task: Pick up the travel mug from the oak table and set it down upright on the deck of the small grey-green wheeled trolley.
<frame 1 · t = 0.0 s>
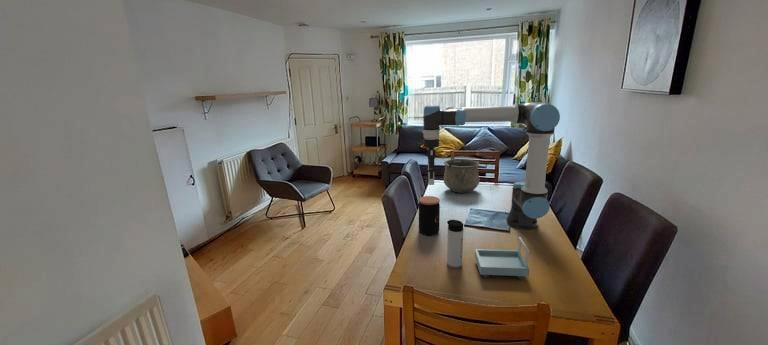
hand: (430, 180, 158), 28 cm above the table, fingers open, 13 cm apart
pot: (461, 191, 227), on the table
travel mug: (454, 265, 135), on the table
coffee jar: (428, 232, 165), on the table
trolley: (499, 270, 129), on the table
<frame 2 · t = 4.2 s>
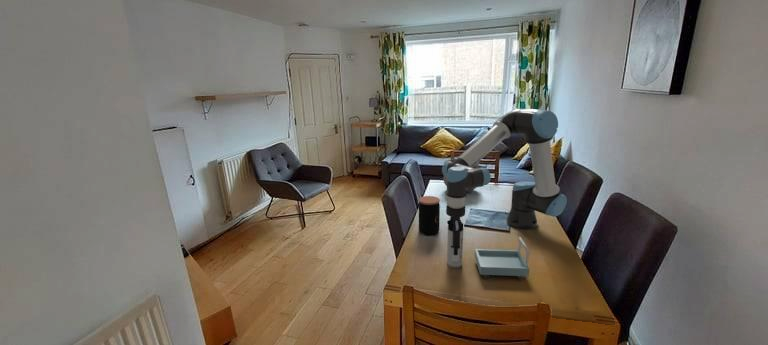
hand: (454, 256, 133), 4 cm above the table, fingers closed on travel mug, 6 cm apart
travel mug: (454, 265, 134), on the table, touching gripper
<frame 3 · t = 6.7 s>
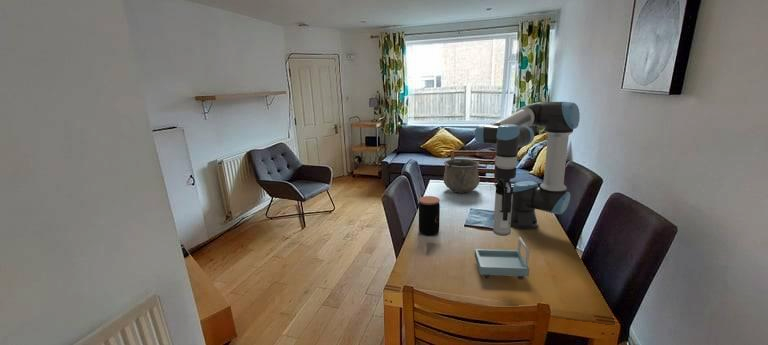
hand: (501, 223, 124), 21 cm above the table, fingers closed on travel mug, 6 cm apart
travel mug: (500, 233, 125), point 17 cm above the table, touching gripper
everything else where it was.
when the fingers open (9 cm above the table, at t = 9.2 s): travel mug drops 2 cm, resting on trolley.
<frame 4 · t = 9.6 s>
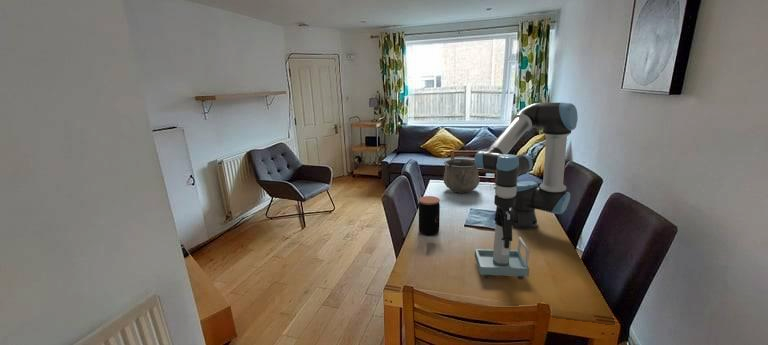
hand: (501, 246, 127), 11 cm above the table, fingers open, 11 cm apart
travel mug: (500, 262, 128), point 4 cm above the table, touching trolley
everything else where it was.
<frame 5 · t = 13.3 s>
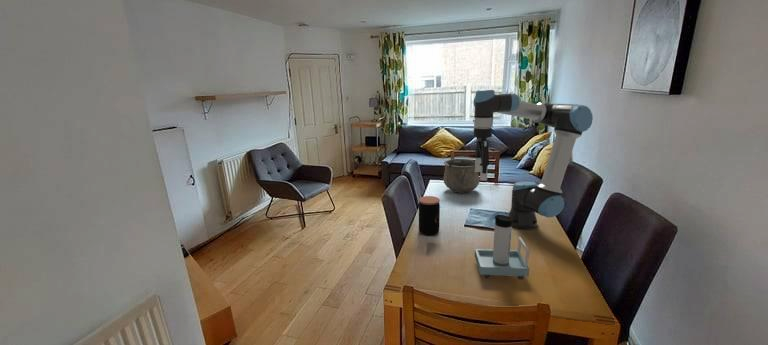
hand: (480, 175, 139), 35 cm above the table, fingers open, 13 cm apart
nothing on the table moved.
at the end: travel mug inside the target area on the trolley (0.0 cm from its centre), point 3.6 cm above the trolley's base; travel mug tilted 0°; the gripper is holding nothing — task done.
